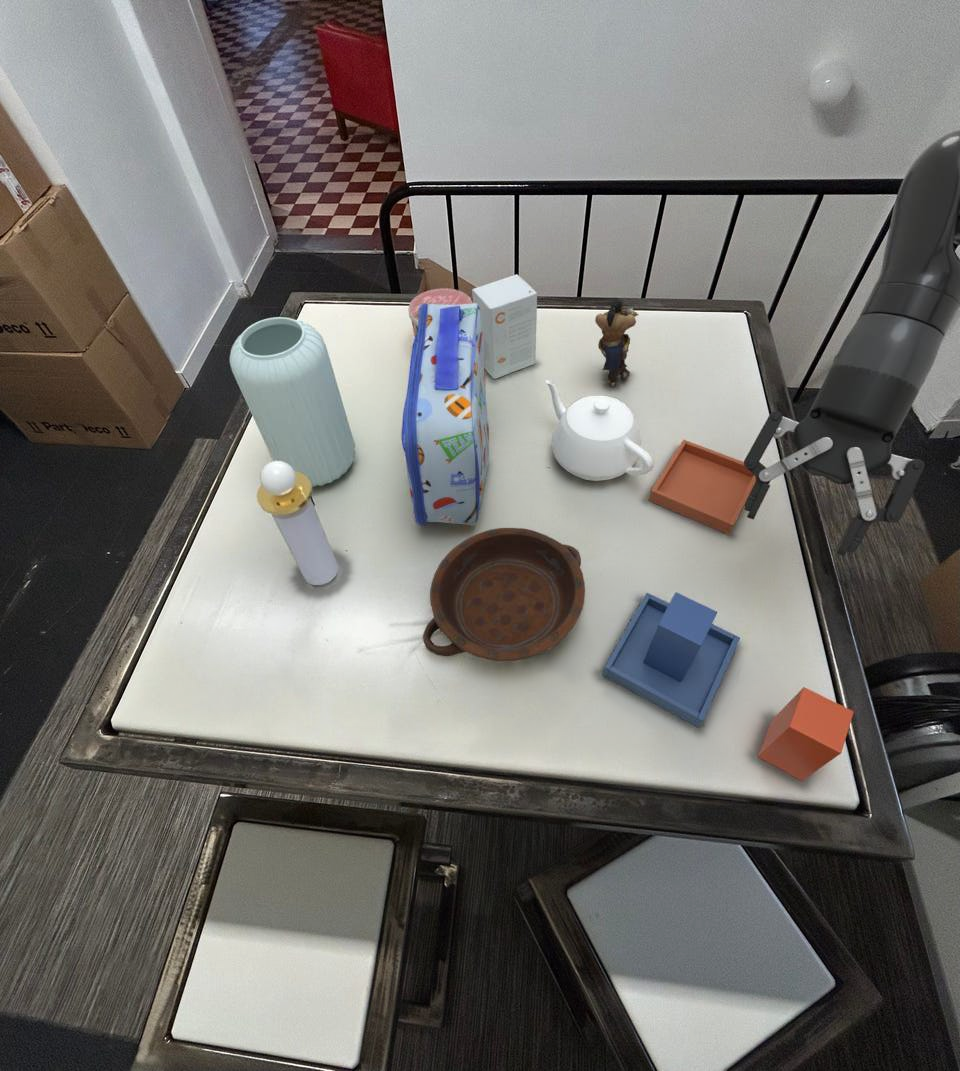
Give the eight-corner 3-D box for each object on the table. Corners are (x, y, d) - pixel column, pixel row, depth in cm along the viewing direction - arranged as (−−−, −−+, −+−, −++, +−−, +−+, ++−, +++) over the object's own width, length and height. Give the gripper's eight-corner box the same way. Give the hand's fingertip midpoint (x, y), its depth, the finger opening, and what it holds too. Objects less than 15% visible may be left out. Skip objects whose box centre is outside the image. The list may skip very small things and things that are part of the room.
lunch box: (423, 403, 97) (403, 272, 79) (488, 401, 96) (483, 269, 79) (411, 544, 80) (383, 419, 63) (490, 542, 80) (484, 416, 62)
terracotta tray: (757, 479, 85) (762, 468, 83) (729, 535, 79) (733, 525, 77) (680, 449, 88) (683, 439, 87) (648, 500, 83) (651, 490, 81)
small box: (517, 344, 105) (517, 272, 94) (536, 364, 101) (538, 292, 91) (475, 359, 103) (470, 288, 92) (493, 380, 99) (490, 309, 89)
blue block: (696, 651, 69) (717, 611, 62) (681, 682, 67) (701, 646, 60) (659, 632, 71) (675, 591, 63) (642, 662, 69) (658, 624, 61)
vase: (264, 480, 88) (201, 352, 71) (310, 429, 94) (263, 299, 76) (330, 505, 85) (281, 377, 67) (373, 451, 91) (339, 320, 73)
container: (401, 351, 105) (394, 310, 98) (442, 322, 109) (438, 280, 103) (447, 375, 101) (442, 333, 94) (487, 344, 105) (486, 302, 99)
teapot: (513, 439, 91) (513, 385, 83) (573, 401, 96) (579, 347, 87) (612, 518, 82) (623, 466, 73) (673, 473, 86) (690, 419, 78)
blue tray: (735, 645, 70) (740, 637, 68) (698, 727, 65) (703, 720, 63) (643, 601, 74) (646, 592, 72) (602, 674, 69) (604, 667, 67)
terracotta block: (815, 743, 63) (854, 711, 56) (802, 781, 61) (841, 753, 54) (771, 720, 65) (803, 686, 57) (757, 756, 63) (789, 726, 55)
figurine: (603, 399, 95) (616, 315, 83) (580, 380, 98) (590, 296, 86) (637, 382, 98) (654, 297, 85) (614, 364, 100) (627, 279, 88)
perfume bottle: (347, 586, 77) (303, 480, 61) (301, 597, 76) (245, 493, 60) (341, 550, 80) (298, 440, 64) (297, 560, 80) (243, 452, 64)
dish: (625, 610, 73) (631, 589, 69) (475, 719, 66) (473, 702, 62) (533, 520, 82) (534, 496, 78) (392, 607, 75) (385, 586, 71)
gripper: (798, 344, 56) (720, 508, 59) (975, 395, 50) (877, 571, 54) (794, 360, 62) (724, 506, 66) (949, 407, 57) (864, 563, 61)
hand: (793, 535), depth 60 cm, fingers open, 8 cm apart
